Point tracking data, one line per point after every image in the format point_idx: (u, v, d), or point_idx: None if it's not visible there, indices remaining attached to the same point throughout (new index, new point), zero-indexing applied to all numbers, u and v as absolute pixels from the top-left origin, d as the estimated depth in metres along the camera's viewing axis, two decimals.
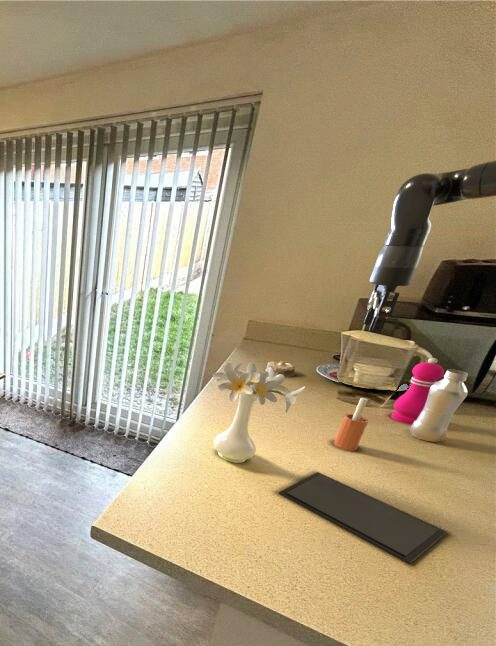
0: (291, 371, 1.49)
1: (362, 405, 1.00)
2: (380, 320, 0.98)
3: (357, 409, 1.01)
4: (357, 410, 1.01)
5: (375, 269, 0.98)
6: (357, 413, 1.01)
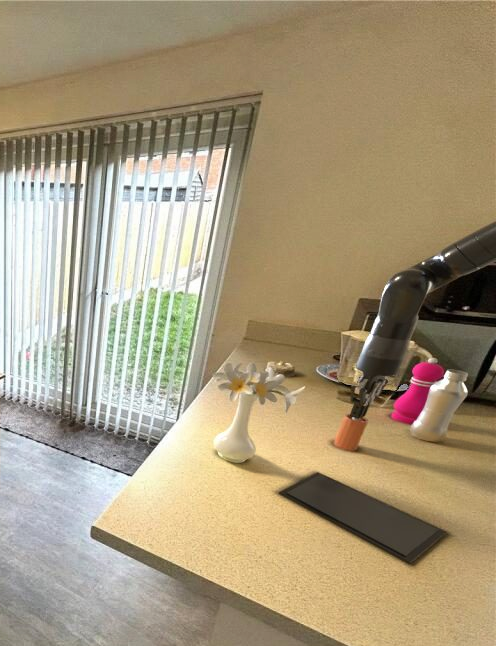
0: (291, 371, 1.49)
1: None
2: (358, 407, 0.99)
3: None
4: None
5: (360, 354, 0.98)
6: None
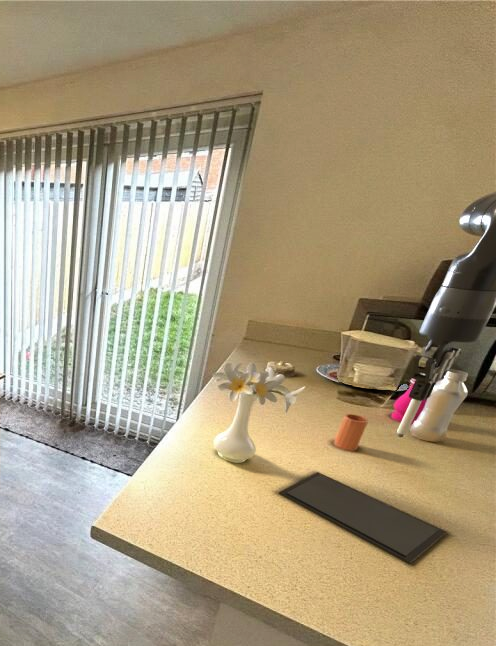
0: (291, 371, 1.49)
1: None
2: (421, 385, 0.76)
3: None
4: None
5: (426, 315, 0.74)
6: None
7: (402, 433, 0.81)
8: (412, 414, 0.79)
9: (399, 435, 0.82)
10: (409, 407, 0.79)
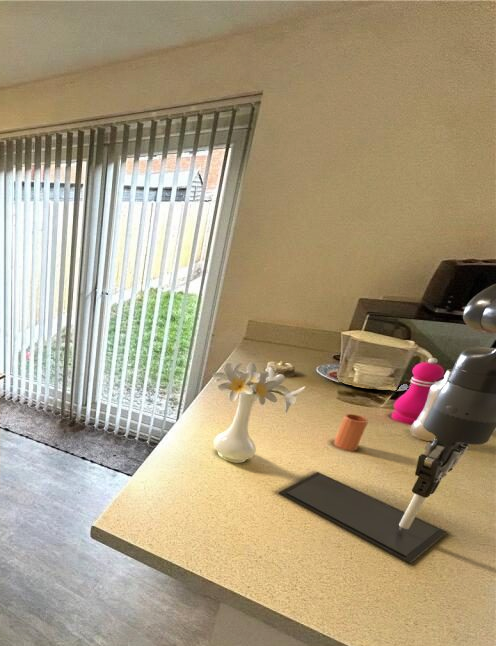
0: (291, 371, 1.49)
1: None
2: (425, 482, 0.70)
3: None
4: None
5: (430, 409, 0.69)
6: None
7: (404, 527, 0.75)
8: (415, 509, 0.73)
9: (401, 529, 0.76)
10: (412, 501, 0.74)
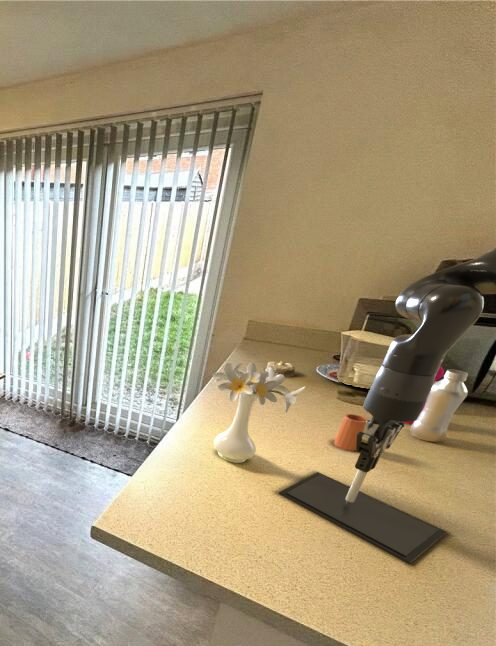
0: (291, 371, 1.49)
1: None
2: (365, 458, 0.77)
3: None
4: None
5: None
6: None
7: (350, 500, 0.82)
8: (359, 484, 0.80)
9: (347, 502, 0.83)
10: (356, 477, 0.81)
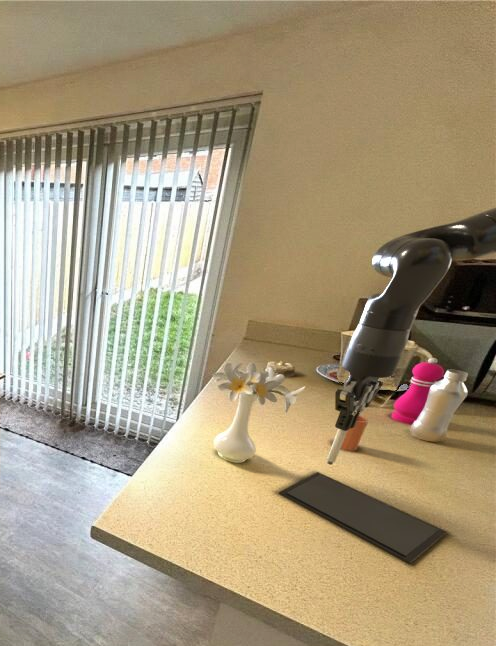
0: (291, 371, 1.49)
1: None
2: (345, 416, 0.79)
3: None
4: None
5: (347, 350, 0.77)
6: None
7: (331, 460, 0.84)
8: (339, 443, 0.82)
9: (329, 462, 0.85)
10: (336, 436, 0.82)
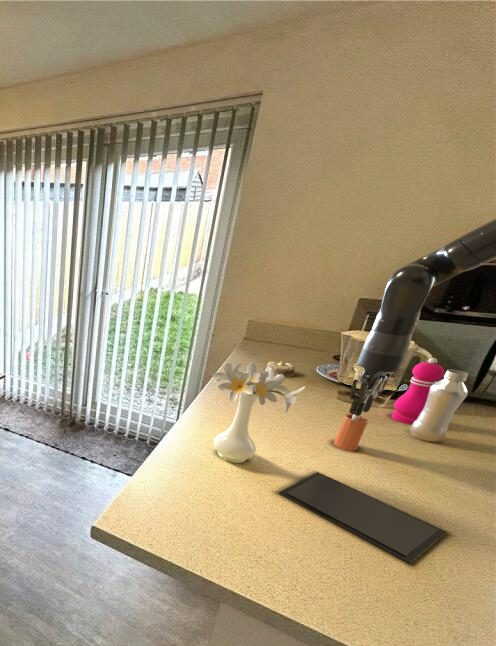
0: (291, 371, 1.49)
1: None
2: (357, 403, 0.98)
3: None
4: None
5: None
6: None
7: None
8: None
9: None
10: None
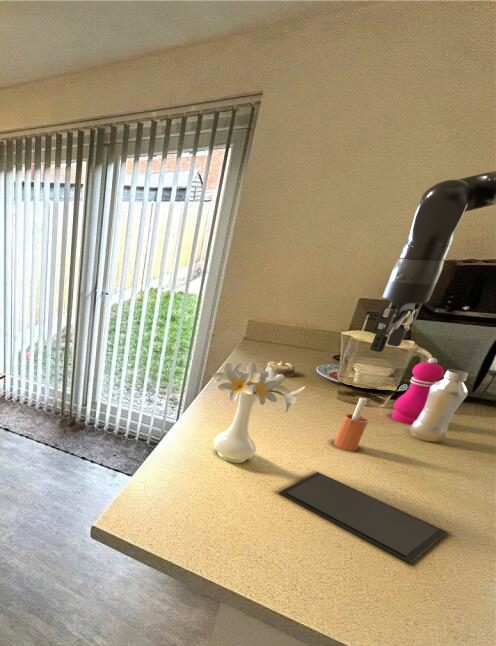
0: (291, 371, 1.49)
1: (361, 405, 1.00)
2: (379, 338, 0.91)
3: (357, 409, 1.01)
4: (357, 410, 1.01)
5: None
6: (357, 413, 1.01)
7: None
8: None
9: None
10: None
